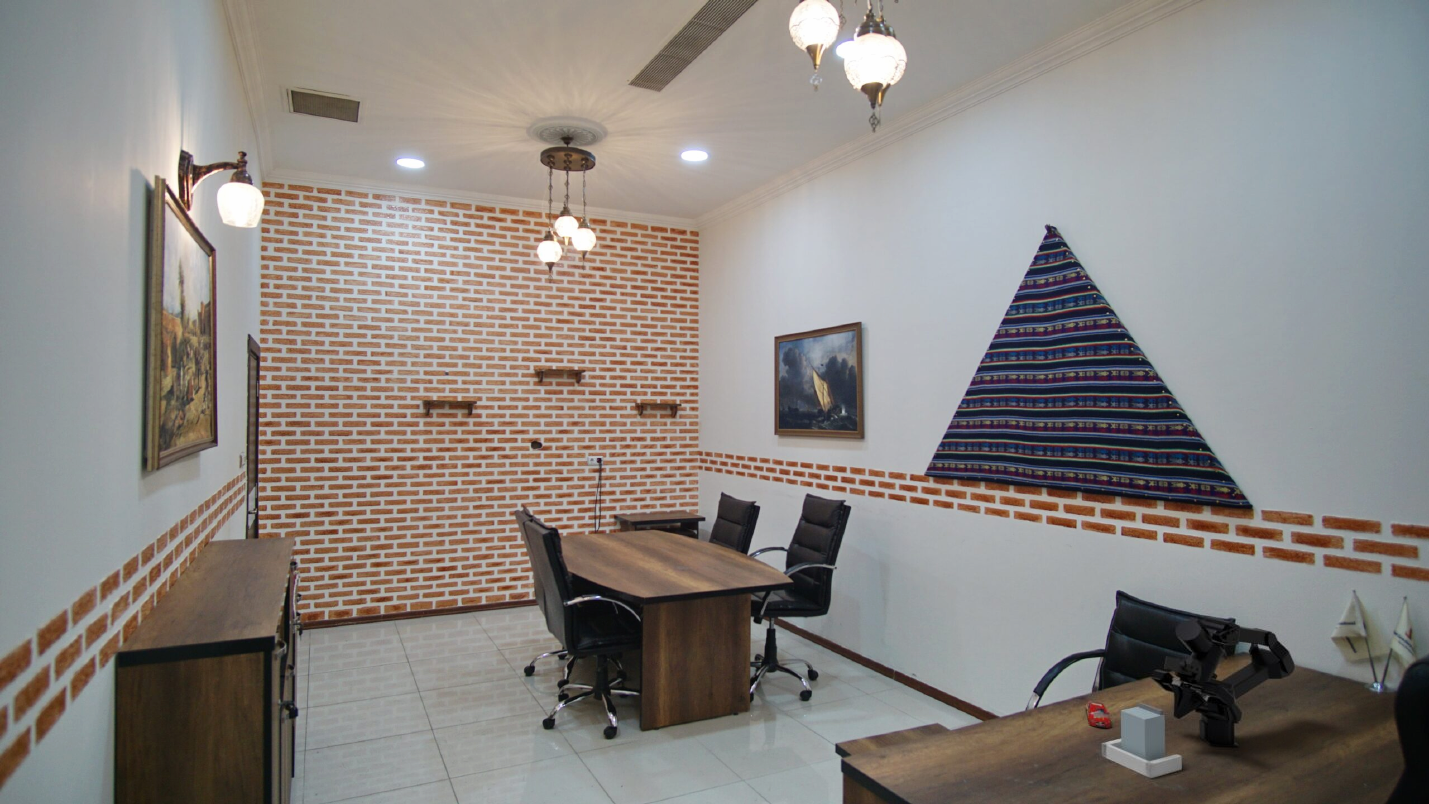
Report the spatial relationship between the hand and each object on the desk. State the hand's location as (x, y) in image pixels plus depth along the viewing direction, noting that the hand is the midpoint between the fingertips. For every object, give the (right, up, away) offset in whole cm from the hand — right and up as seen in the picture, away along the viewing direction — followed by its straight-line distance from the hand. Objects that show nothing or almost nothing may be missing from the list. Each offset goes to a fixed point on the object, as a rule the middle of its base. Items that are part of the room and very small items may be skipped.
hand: (1176, 717), depth 183 cm
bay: (-11, -8, -6) cm, 15 cm away
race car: (-9, -9, +20) cm, 24 cm away
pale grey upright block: (-11, -8, -6) cm, 15 cm away
